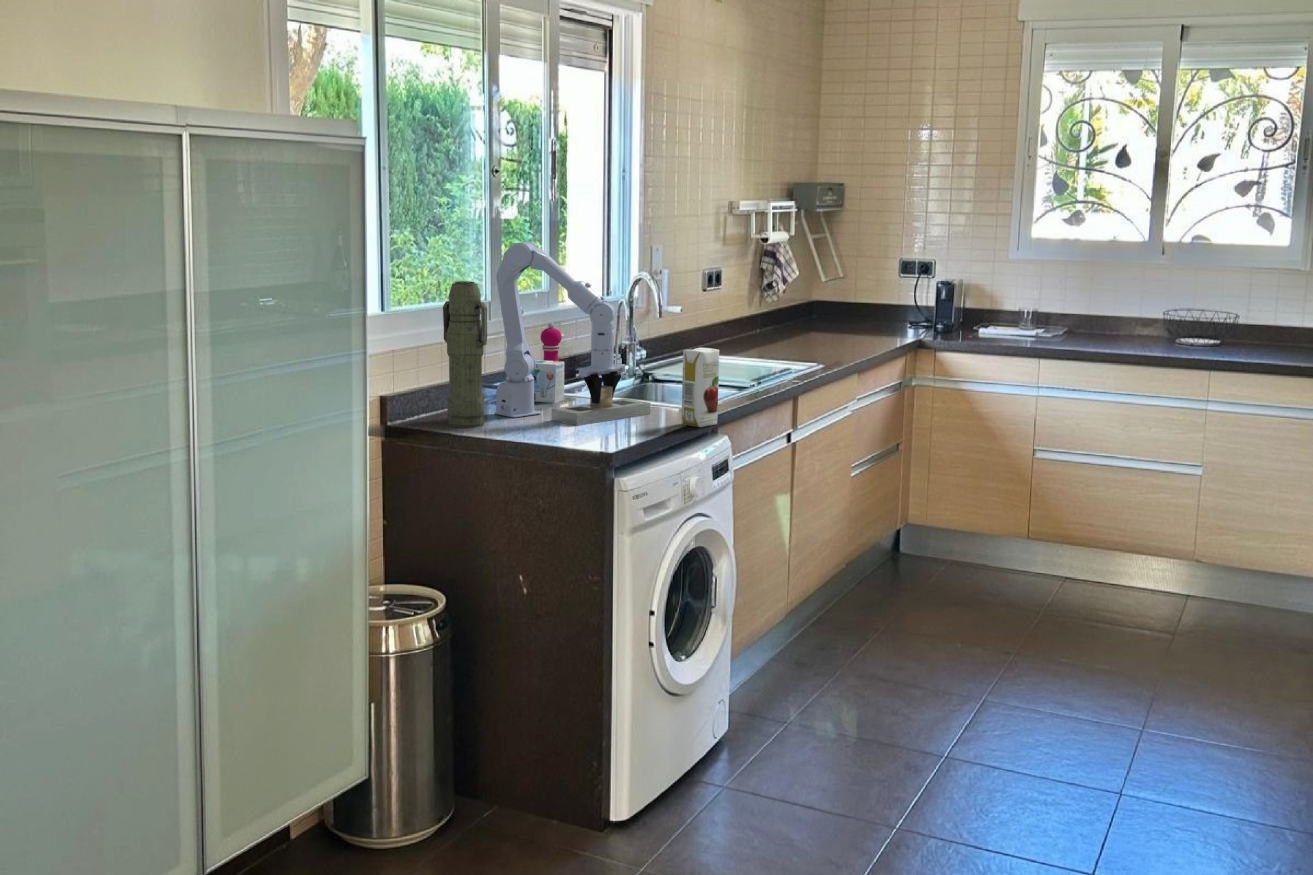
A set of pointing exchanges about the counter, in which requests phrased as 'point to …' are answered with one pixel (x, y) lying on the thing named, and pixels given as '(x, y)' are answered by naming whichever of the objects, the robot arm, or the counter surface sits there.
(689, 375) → the juice carton
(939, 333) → the counter surface
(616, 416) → the rail
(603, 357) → the robot arm
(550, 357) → the pepper mill
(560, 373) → the light bulb box
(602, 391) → the peg
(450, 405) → the thermos
